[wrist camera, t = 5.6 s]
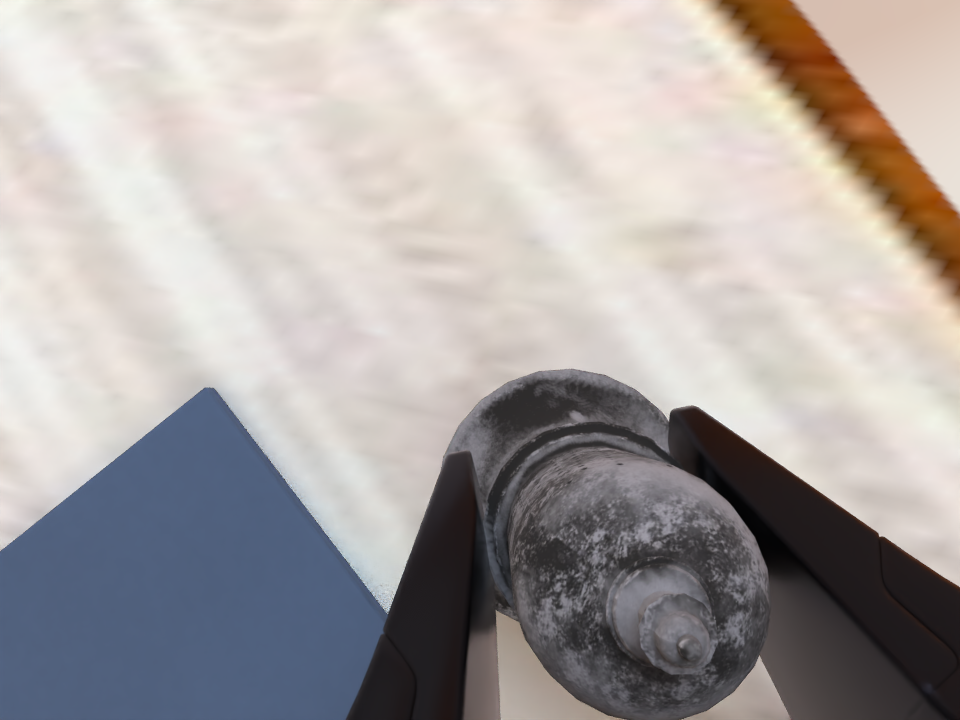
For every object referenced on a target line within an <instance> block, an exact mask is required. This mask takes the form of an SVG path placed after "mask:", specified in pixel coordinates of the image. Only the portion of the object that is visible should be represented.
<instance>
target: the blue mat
mask: <svg viewBox="0 0 960 720" xmlns="http://www.w3.org/2000/svg"><path fill="white" fill-rule="evenodd" d="M387 616H388V615H387V614H386V612H385V611H384V610H383V608H382V607H381V606H380V604H379V603H378V602H377V601H376V599H375V598H374V597H373V595H372V594H371V593H370V591H369V590H368V589H367V588H366V586H365V585H364V584H363V582H362V581H361V580H360V578H359V577H358V576H357V574H356V573H355V572H354V571H353V569H352V568H351V567H350V565H349V564H348V563H347V561H346V560H345V559H344V557H343V556H342V555H341V554H340V552H339V551H338V550H337V548H336V547H335V546H334V544H333V543H332V542H331V540H330V539H329V538H328V537H327V535H326V534H325V533H324V531H323V530H322V529H321V527H320V526H319V525H318V523H317V522H316V521H315V520H314V518H313V517H312V516H311V514H310V513H309V512H308V510H307V509H306V508H305V506H304V505H303V504H302V503H301V501H300V500H299V499H298V497H297V496H296V495H295V493H294V492H293V491H292V490H291V488H290V487H289V486H288V484H287V483H286V482H285V480H284V479H283V478H282V476H281V475H280V474H279V473H278V471H277V470H276V469H275V467H274V466H273V465H272V463H271V462H270V461H269V459H268V458H267V457H266V456H265V454H264V453H263V452H262V450H261V449H260V448H259V446H258V445H257V444H256V442H255V441H254V440H253V439H252V437H251V436H250V435H249V433H248V432H247V431H246V429H245V428H244V427H243V425H242V424H241V423H240V422H239V420H238V419H237V418H236V416H235V415H234V414H233V412H232V411H231V410H230V409H229V407H228V406H227V405H226V403H225V402H224V401H223V399H222V398H221V397H220V395H219V394H218V393H217V392H216V390H215V389H214V388H204V389H203V390H201V391H200V392H199V393H198V394H196V395H195V396H194V397H193V398H191V399H190V400H189V401H188V402H186V403H185V404H184V405H183V406H181V407H180V408H179V409H178V410H176V411H175V412H174V413H173V414H171V415H170V416H169V417H168V418H166V419H165V420H164V421H163V422H161V423H160V424H159V425H158V426H156V427H155V428H154V429H153V430H151V431H150V432H149V433H148V434H146V435H145V436H144V437H143V438H141V439H140V440H139V441H138V442H136V443H135V444H134V445H133V446H131V447H130V448H129V449H128V450H126V451H125V452H124V453H123V454H121V455H120V456H119V457H118V458H116V459H115V460H114V461H113V462H111V463H110V464H109V465H108V466H106V467H105V468H104V469H103V470H101V471H100V472H99V473H98V474H96V475H95V476H94V477H93V478H91V479H90V480H89V481H88V482H86V483H85V484H84V485H83V486H81V487H80V488H79V489H78V490H76V491H75V492H74V493H73V494H71V495H70V496H69V497H68V498H66V499H65V500H64V501H63V502H61V503H60V504H59V505H58V506H56V507H55V508H54V509H53V510H51V511H50V512H49V513H48V514H46V515H45V516H44V517H43V518H41V519H40V520H39V521H38V522H36V523H35V524H34V525H33V526H31V527H30V528H29V529H28V530H26V531H25V532H24V533H23V534H21V535H20V536H19V537H18V538H16V539H15V540H14V541H13V542H11V543H10V544H9V545H8V546H6V547H5V548H4V549H3V550H1V551H0V720H345V719H346V717H347V715H348V713H349V711H350V709H351V706H352V704H353V702H354V700H355V698H356V696H357V693H358V691H359V689H360V686H361V684H362V681H363V679H364V676H365V674H366V671H367V669H368V666H369V664H370V661H371V659H372V656H373V653H374V651H375V648H376V645H377V643H378V640H379V637H380V635H381V634H384V632H383V627H384V624H385V621H386V619H387Z"/></svg>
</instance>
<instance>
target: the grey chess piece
mask: <svg viewBox="0 0 960 720" xmlns="http://www.w3.org/2000/svg"><path fill="white" fill-rule="evenodd" d="M668 431H669V421H668V420H667V418H666V417H665V416H664V414H663V413H662V411H660V410H659V409H658V408H657V407H656V406H654V405H653V404H652V403H651V402H650V401H649V400H647V399H646V398H645V397H644V396H643V395H641V394H640V393H639V392H638V391H637V390H635V389H633V388H631V387H629V386H627V385H625V384H623V383H621V382H618V381H616V380H614V379H612V378H610V377H608V376H606V375H602V374H596V373H591V372H586V371H581V370H575V369H565V370H551V371H539V372H536V373H533V374H530V375H527V376H524V377H521V378H518V379H516V380H513V381H510V382H507V383H506V384H504V385H503V386H501V387H500V388H498V389H497V390H496V391H494V392H493V393H491V394H490V395H488V396H487V397H485V398H484V399H482V400H481V401H480V402H479V403H478V404H477V405H476V406H475V407H474V409H473V410H472V411H471V412H470V413H469V414H468V416H467V417H466V418H465V419H464V420H463V421H462V423H461V424H460V425H459V426H458V428H457V430H456V432H455V434H454V436H453V438H452V440H451V442H450V444H449V446H448V448H447V451H446V453H445V455H444V457H443V462H442V466H443V464H444V461H445V458H446V456H447V455H448V454H449V453H452V452H457V451H463V450H469V451H470V452H471V454H472V458H473V462H474V466H475V470H476V474H477V478H478V482H479V487H480V492H481V498H482V504H483V510H484V522H483V525H484V531H485V537H486V543H487V550H488V558H489V565H490V570H491V572H492V575H493V578H494V588H495V609H496V610H497V611H499V612H501V613H502V614H504V615H506V616H508V617H510V618H512V619H514V620H516V621H518V622H519V623H520V625H521V628H522V631H523V634H524V637H525V640H526V641H527V643H528V644H529V646H530V647H531V649H532V650H533V652H534V653H535V655H536V656H537V658H538V659H539V661H540V662H541V664H542V665H543V667H544V668H545V669H546V670H547V672H548V673H549V674H550V675H551V676H552V677H553V678H554V679H555V680H556V681H557V682H558V683H560V684H561V685H562V686H563V687H564V688H565V689H566V690H567V691H568V692H569V693H571V694H572V695H573V696H574V697H575V698H576V699H577V700H579V701H581V702H583V703H585V704H587V705H589V706H591V707H593V708H595V709H597V710H598V711H600V712H602V713H604V714H606V715H608V716H613V717H617V718H622V719H626V720H681V719H684V718H687V717H690V716H693V715H695V714H698V713H701V712H704V711H707V710H708V709H710V708H711V707H713V706H714V705H716V704H717V703H718V702H720V701H721V700H723V699H724V698H726V697H727V696H729V695H730V694H732V693H733V692H734V691H735V690H736V688H737V687H738V686H739V685H740V684H741V682H742V681H743V680H744V679H745V677H746V676H747V675H748V674H749V672H750V671H751V670H752V669H753V668H754V666H755V664H756V661H757V659H758V657H759V654H760V652H761V650H762V647H763V645H764V643H765V640H766V638H767V635H768V627H769V620H770V613H771V605H772V601H771V593H770V585H769V577H768V569H767V567H766V564H765V562H764V559H763V557H762V554H761V552H760V549H759V547H758V544H757V542H756V539H755V537H754V536H753V534H752V533H751V531H750V530H749V529H748V527H747V526H746V525H745V523H744V522H743V520H742V519H741V518H740V516H739V515H738V513H737V512H736V511H735V509H734V508H733V507H732V506H731V504H730V503H729V502H728V501H727V500H726V499H725V498H723V497H722V496H721V495H720V494H719V493H717V492H716V491H715V490H714V489H713V488H712V487H710V486H709V485H708V484H707V483H706V482H704V481H703V480H702V479H700V478H698V477H696V476H694V475H692V474H690V473H687V472H686V471H685V469H684V468H683V466H682V465H681V464H680V462H679V461H678V460H677V459H676V458H675V457H674V456H673V455H672V454H670V451H669V447H668ZM441 469H442V467H441Z"/></svg>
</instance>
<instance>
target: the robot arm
mask: <svg viewBox="0 0 960 720" xmlns="http://www.w3.org/2000/svg"><path fill="white" fill-rule="evenodd" d="M668 447H669V451H670V454H672V455H673V456H674V457H675V458H676V459H677V460H678V461H679V462H680V464H681V465H682V466H683V468H684V469H685V471H686V472H687V473H690V474H692V475H694V476H696V477H698V478H700V479H702V480H703V481H704V482H706V483H707V484H708V485H709V486H710V487H712V488H713V489H714V490H715V491H716V492H717V493H719V494H720V495H721V496H722V497H723V498H725V499H726V500H727V501H728V502H729V503H730V504H731V506H732V507H733V508H734V509H735V511H736V512H737V513H738V515H739V516H740V518H741V519H742V520H743V522H744V523H745V525H746V526H747V527H748V529H749V530H750V531H751V533H752V534H753V536H754V537H755V539H756V542H757V544H758V547H759V549H760V552H761V554H762V557H763V559H764V562H765V564H766V567H767V569H768V577H769V585H770V593H771V601H772V605H771V613H770V620H769V627H768V635H767V638H766V640H765V643H764V645H763V647H762V650H761V652H760V654H759V655H760V657H761V659H762V661H763V663H764V665H765V667H766V669H767V671H768V673H769V675H770V677H771V679H772V681H773V683H774V685H775V687H776V689H777V691H778V693H779V695H780V697H781V699H782V701H783V703H784V705H785V707H786V709H787V711H788V713H789V716H790V718H791V720H960V587H959V586H957V585H955V584H954V583H952V582H950V581H949V580H947V579H946V578H944V577H942V576H941V575H939V574H938V573H936V572H935V571H933V570H932V569H930V568H929V567H927V566H926V565H924V564H923V563H921V562H920V561H918V560H917V559H915V558H914V557H912V556H911V555H909V554H908V553H906V552H905V551H904V550H902V549H901V548H899V547H898V546H896V545H895V544H894V543H892V542H891V541H889V540H888V539H886V538H885V537H883V536H881V537H879V534H878V533H877V532H876V531H875V530H873V529H872V528H870V527H869V526H867V525H866V524H865V523H863V522H862V521H860V520H859V519H857V518H856V517H855V516H853V515H852V514H850V513H849V512H847V511H846V510H845V509H843V508H842V507H840V506H839V505H837V504H836V503H835V502H833V501H832V500H830V499H829V498H827V497H826V496H824V495H823V494H822V493H820V492H819V491H817V490H816V489H814V488H813V487H812V486H810V485H809V484H807V483H806V482H804V481H803V480H802V479H800V478H799V477H797V476H796V475H794V474H793V473H792V472H790V471H789V470H787V469H786V468H784V467H783V466H781V465H780V464H779V463H777V462H776V461H774V460H773V459H771V458H770V457H769V456H767V455H766V454H764V453H763V452H761V451H760V450H759V449H757V448H756V447H754V446H753V445H751V444H750V443H749V442H747V441H746V440H744V439H743V438H741V437H740V436H739V435H737V434H736V433H734V432H733V431H731V430H730V429H728V428H727V427H726V426H724V425H723V424H721V423H720V422H718V421H717V420H716V419H714V418H713V417H711V416H710V415H708V414H707V413H706V412H704V411H703V410H701V409H700V408H698V407H696V406H686V407H681V408H676V409H673V410H672V411H671V413H670V418H669V431H668ZM483 522H484V510H483V504H482V498H481V492H480V487H479V482H478V478H477V474H476V470H475V466H474V462H473V458H472V454H471V452H470V451H469V450H463V451H457V452H452V453H449V454H448V455H447V456H446V458H445V461H444V464H443V466H442V469H441V472H440V475H439V477H438V480H437V483H436V485H435V488H434V491H433V494H432V496H431V499H430V502H429V504H428V507H427V510H426V513H425V515H424V518H423V521H422V523H421V526H420V529H419V532H418V534H417V537H416V540H415V543H414V545H413V548H412V551H411V553H410V556H409V559H408V562H407V564H406V567H405V570H404V572H403V575H402V578H401V581H400V583H399V586H398V589H397V591H396V594H395V597H394V600H393V602H392V605H391V608H390V611H389V613H388V616H387V619H386V621H385V624H384V627H383V632H384V634H381V635H380V637H379V640H378V643H377V645H376V648H375V651H374V653H373V656H372V659H371V661H370V664H369V666H368V669H367V671H366V674H365V676H364V679H363V681H362V684H361V686H360V689H359V691H358V693H357V696H356V698H355V700H354V702H353V704H352V706H351V709H350V711H349V713H348V715H347V717H346V719H345V720H501V717H500V695H499V674H498V652H497V631H496V609H495V588H494V578H493V575H492V572H491V570H490V565H489V558H488V550H487V543H486V537H485V531H484V525H483Z"/></svg>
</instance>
